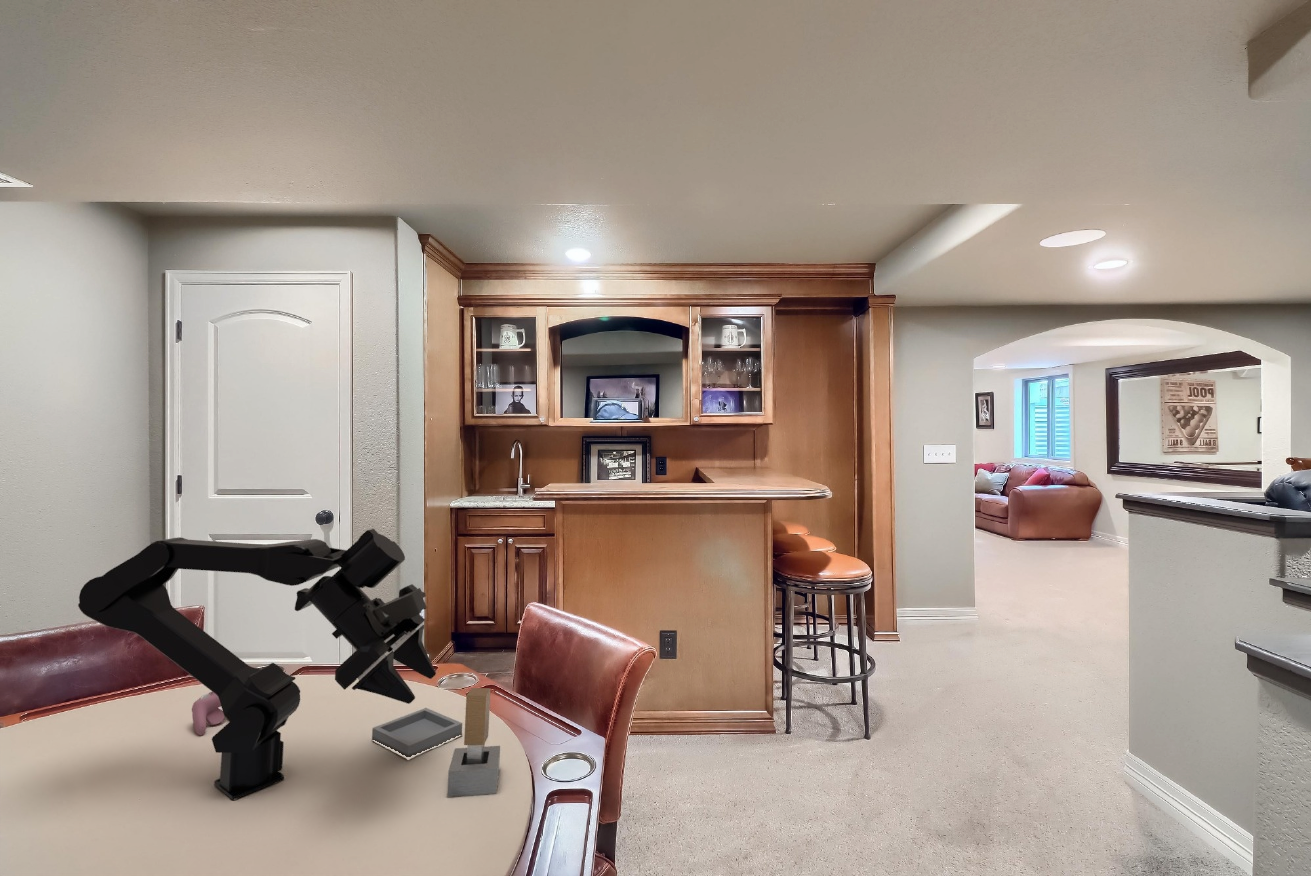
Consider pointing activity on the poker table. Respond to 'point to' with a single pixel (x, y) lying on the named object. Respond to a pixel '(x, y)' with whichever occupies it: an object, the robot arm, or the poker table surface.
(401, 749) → the tool tray
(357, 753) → the poker table surface
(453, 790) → the block
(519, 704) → the poker table surface
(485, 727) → the wooden handled tool
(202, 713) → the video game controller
